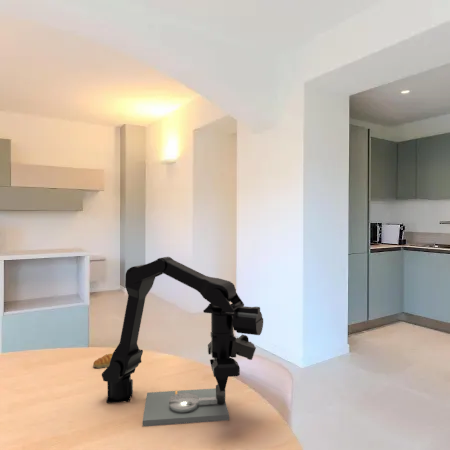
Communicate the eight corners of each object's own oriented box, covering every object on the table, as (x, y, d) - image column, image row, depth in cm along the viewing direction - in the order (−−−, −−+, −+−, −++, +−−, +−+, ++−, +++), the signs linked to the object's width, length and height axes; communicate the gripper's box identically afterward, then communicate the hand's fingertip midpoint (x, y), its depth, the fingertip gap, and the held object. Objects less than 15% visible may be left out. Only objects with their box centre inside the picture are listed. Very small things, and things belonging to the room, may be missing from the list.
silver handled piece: (168, 413, 102) (168, 395, 101) (169, 399, 110) (169, 382, 109) (227, 409, 104) (227, 392, 103) (223, 396, 111) (223, 379, 111)
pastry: (97, 371, 135) (97, 360, 135) (90, 366, 140) (89, 355, 140) (123, 364, 141) (122, 354, 141) (114, 359, 146) (114, 349, 146)
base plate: (142, 426, 99) (142, 419, 99) (147, 397, 115) (147, 391, 115) (229, 420, 102) (229, 413, 102) (221, 392, 117) (221, 387, 117)
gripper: (260, 340, 93) (260, 405, 94) (246, 320, 112) (246, 374, 112) (213, 342, 92) (214, 408, 92) (207, 321, 110) (207, 376, 111)
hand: (222, 390), depth 102 cm, fingers closed
